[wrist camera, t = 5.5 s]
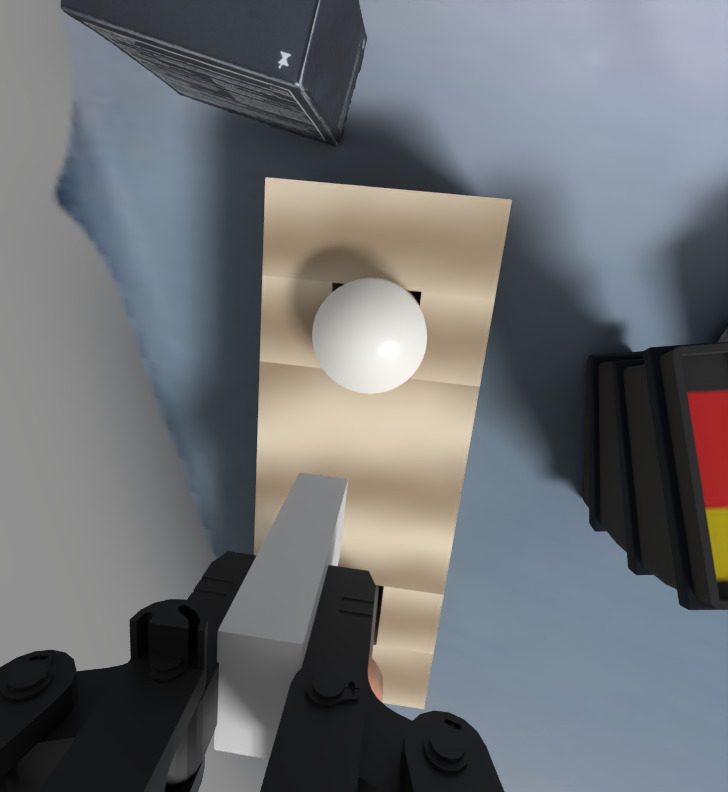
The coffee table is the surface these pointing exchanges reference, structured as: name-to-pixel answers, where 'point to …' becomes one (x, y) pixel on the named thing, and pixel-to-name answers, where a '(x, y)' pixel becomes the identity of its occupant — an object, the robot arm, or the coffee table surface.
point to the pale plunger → (370, 335)
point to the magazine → (662, 464)
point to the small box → (245, 54)
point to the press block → (381, 412)
